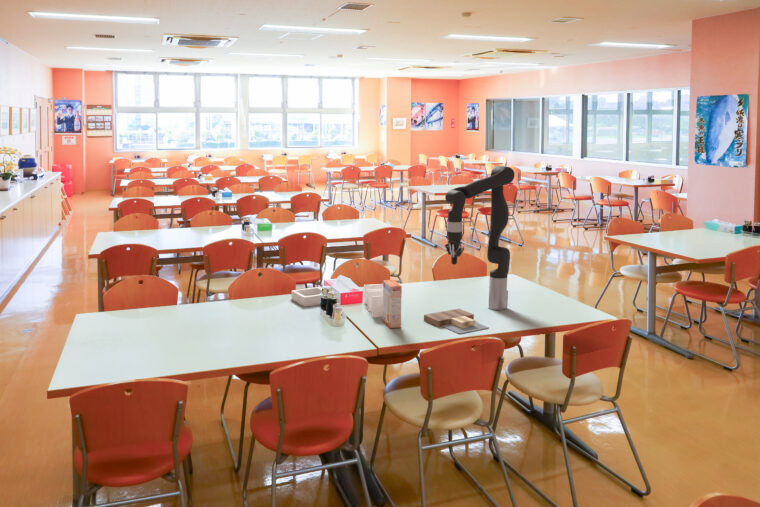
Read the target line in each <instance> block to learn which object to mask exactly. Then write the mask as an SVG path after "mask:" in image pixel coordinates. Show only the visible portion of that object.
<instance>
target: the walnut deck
mask: <svg viewBox="0 0 760 507" xmlns="http://www.w3.org/2000/svg"><path fill="white" fill-rule="evenodd" d="M461 316H466V317H468V318H471V319H473V320H475V317H474V316H475V314H473V313H471V312H468V311H466V310H465V309H464V310H463V309H461V308H456V309H449V310H444V311H438V312H432V313H427V314H423V321H425V322H427V323H429V324H431V325H433V326H435V327H437V328H440V327H442V325H447V324H451V318H456V317H461Z"/></svg>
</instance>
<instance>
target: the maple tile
mask: <svg viewBox="0 0 760 507" xmlns="http://www.w3.org/2000/svg"><path fill="white" fill-rule="evenodd" d="M475 322H476V320H475V319H474V320H473V319H471V318H468V317H466V316H461V317H456V318H451V324H452V325H454V326H457V327H459V328H461V329H462V328H467V327H472V326H475Z"/></svg>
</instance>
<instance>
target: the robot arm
mask: <svg viewBox="0 0 760 507" xmlns="http://www.w3.org/2000/svg"><path fill="white" fill-rule="evenodd" d="M514 179H515V170H514V169H513V168H512V167H509V166H505V165H495V166H494V167H493V168H492V169H491V172H490V176H489V177H485V178H481V179H477V180H474V181H471V182H469V183H467V184H464V185H462V186H458V187H455V188H452V189H450V190H448V191H446V192H447V193H446V194H445V195H444V196H445V197H444V198H445V201H446V203H448V204H450V205H452V209H449V210H448V213H447V226H446V227H447V228H446V240H448V241H447V243H446V244H444V246H445V249H446V252H447V254H448V256H450V257H451V258H450V259H451V264H452V265H457V263H458V257H461V255H462V253H463V252H464V250H465V247H462V242H461V241H462V240H463V211H464V208H465V205H466V199H472V198H474V197H476V196H478V195H480V194H483V193H484V192H487V191H489V190H490V191H491V192H490V193H491V194H490V196H491V197H490V198H491V199H490V200H491V203H490V205H491V206H490V217H489V218H490V220H489V222H490V224H489V225H490V226H489V229H490V230H489V237H488V244H487V253H486V255H487V261H488V262H489V263H491V264H495V265H497V268H495V269H492V270H490V271H489V286H488V309H490V310H494V311H502V310H506V309H508V305H509V304H508V300H509V299H508V298H509V290H508V274H509V270H510V261H511V252H510V249H509V248H508V247H504V246H500V245H499V241H500V237H501V235H502V233H503V232H504V231H505V229H506V228H507V226H508V223H509V215H510V214H509V211H510V210H509V206H508V203H507V200H506V198H505V195H504V186H506V185H509V184H510V183H512V182H513V181H514Z"/></svg>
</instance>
